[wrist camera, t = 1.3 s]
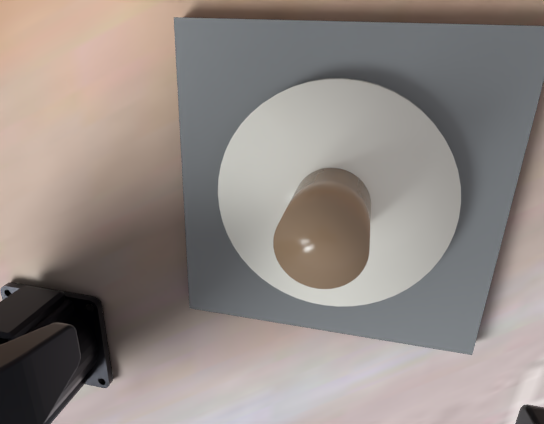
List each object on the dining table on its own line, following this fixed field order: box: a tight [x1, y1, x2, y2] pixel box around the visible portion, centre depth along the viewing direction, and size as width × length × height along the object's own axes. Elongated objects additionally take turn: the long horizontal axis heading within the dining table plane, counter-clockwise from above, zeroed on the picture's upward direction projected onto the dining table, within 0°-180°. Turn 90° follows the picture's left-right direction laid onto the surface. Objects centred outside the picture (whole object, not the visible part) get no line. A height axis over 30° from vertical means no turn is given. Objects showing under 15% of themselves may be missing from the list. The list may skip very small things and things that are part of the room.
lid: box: [218, 78, 461, 307], centre depth 16 cm, size 10×10×5 cm
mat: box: [174, 17, 544, 355], centre depth 19 cm, size 14×14×1 cm
